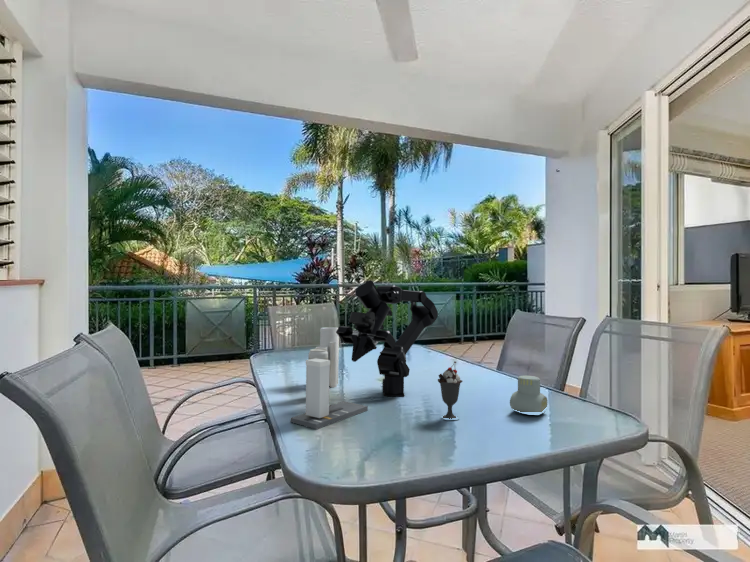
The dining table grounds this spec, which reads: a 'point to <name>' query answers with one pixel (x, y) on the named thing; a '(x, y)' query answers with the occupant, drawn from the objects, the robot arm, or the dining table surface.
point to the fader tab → (317, 387)
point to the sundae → (449, 389)
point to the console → (330, 415)
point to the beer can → (318, 354)
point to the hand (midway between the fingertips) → (353, 360)
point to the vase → (331, 351)
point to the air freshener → (528, 395)
